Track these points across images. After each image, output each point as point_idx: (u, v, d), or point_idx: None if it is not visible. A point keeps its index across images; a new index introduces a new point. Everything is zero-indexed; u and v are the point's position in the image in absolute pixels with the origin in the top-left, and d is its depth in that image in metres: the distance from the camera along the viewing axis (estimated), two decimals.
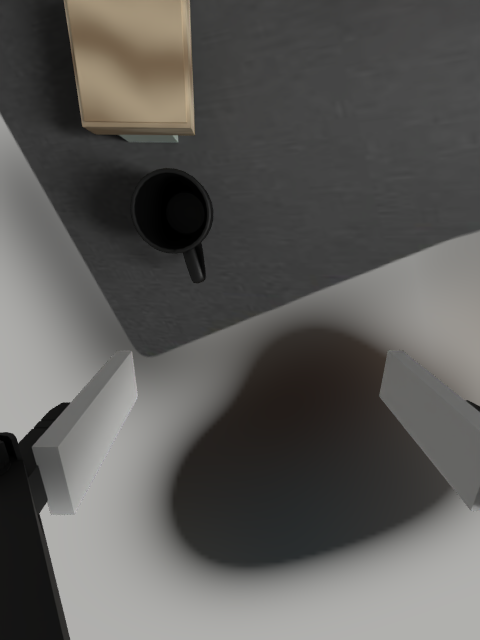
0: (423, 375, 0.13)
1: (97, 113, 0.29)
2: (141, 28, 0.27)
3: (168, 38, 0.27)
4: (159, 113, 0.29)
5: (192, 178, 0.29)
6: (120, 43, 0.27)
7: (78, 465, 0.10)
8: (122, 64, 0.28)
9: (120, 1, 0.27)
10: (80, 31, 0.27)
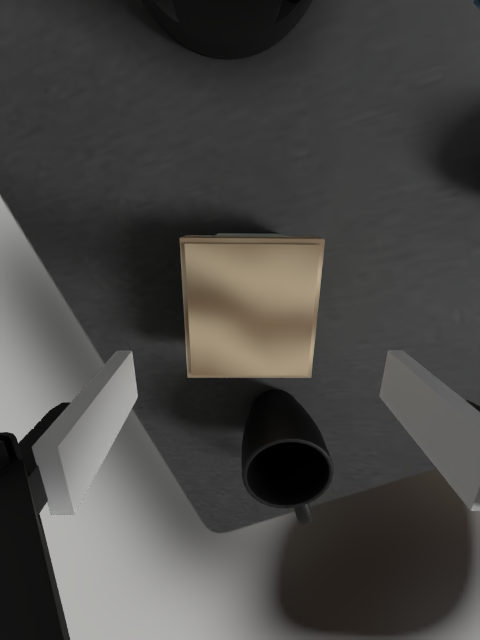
0: (423, 375, 0.13)
1: (207, 368, 0.26)
2: (268, 293, 0.23)
3: (298, 302, 0.24)
4: (278, 368, 0.26)
5: (317, 446, 0.25)
6: (242, 307, 0.24)
7: (78, 465, 0.10)
8: (242, 325, 0.24)
9: (248, 269, 0.23)
10: (197, 296, 0.23)
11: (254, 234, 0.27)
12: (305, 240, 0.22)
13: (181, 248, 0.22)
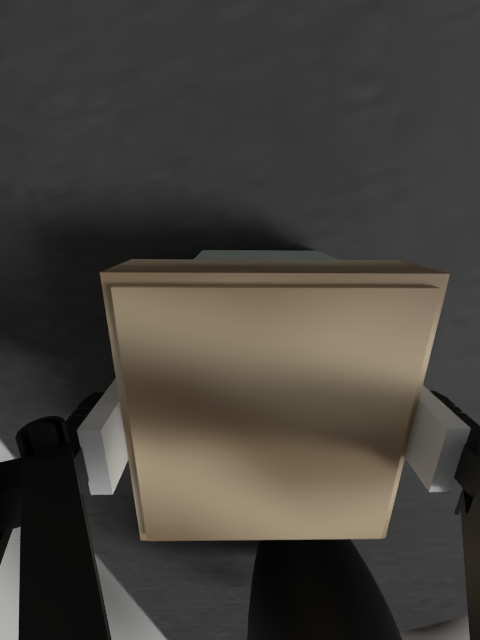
0: None
1: (179, 529, 0.13)
2: (310, 393, 0.10)
3: (376, 410, 0.11)
4: (322, 527, 0.13)
5: None
6: (251, 420, 0.11)
7: (115, 449, 0.10)
8: (250, 455, 0.11)
9: (264, 345, 0.10)
10: (150, 400, 0.10)
11: (272, 254, 0.14)
12: (401, 277, 0.09)
13: (106, 296, 0.09)
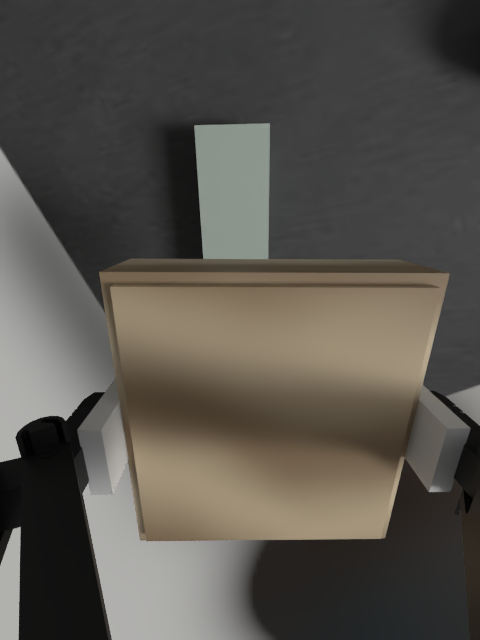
0: None
1: (179, 529, 0.13)
2: (309, 393, 0.10)
3: (376, 410, 0.11)
4: (322, 527, 0.13)
5: None
6: (251, 420, 0.11)
7: (115, 449, 0.10)
8: (250, 455, 0.11)
9: (264, 344, 0.10)
10: (150, 400, 0.10)
11: None
12: (401, 276, 0.09)
13: (105, 296, 0.09)
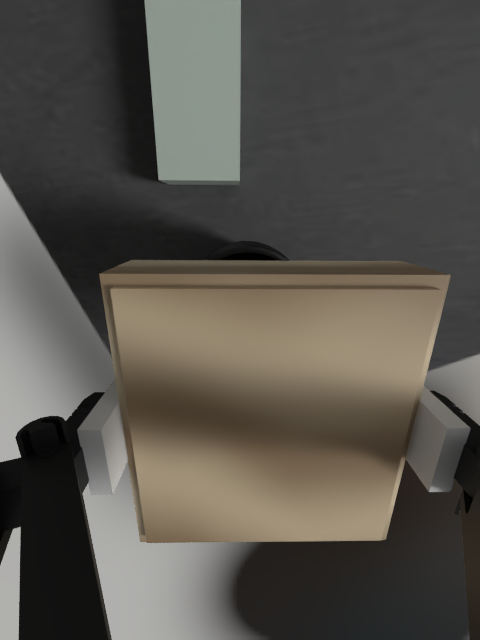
0: None
1: (179, 531, 0.13)
2: (310, 394, 0.10)
3: (376, 412, 0.11)
4: (322, 529, 0.13)
5: (286, 260, 0.18)
6: (251, 422, 0.11)
7: (115, 449, 0.10)
8: (250, 457, 0.11)
9: (264, 346, 0.10)
10: (150, 402, 0.10)
11: None
12: (402, 278, 0.09)
13: (106, 298, 0.09)
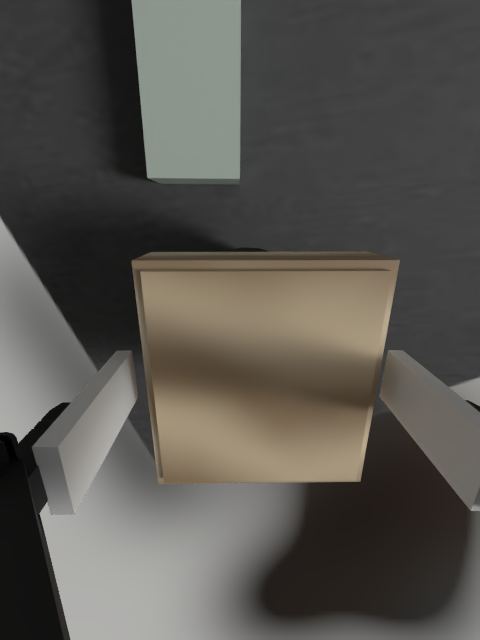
0: (423, 375, 0.13)
1: (191, 472, 0.15)
2: (294, 355, 0.13)
3: (347, 369, 0.13)
4: (307, 470, 0.15)
5: None
6: (248, 378, 0.14)
7: (78, 465, 0.10)
8: (248, 408, 0.14)
9: (258, 316, 0.13)
10: (169, 362, 0.13)
11: None
12: (363, 263, 0.12)
13: (136, 279, 0.12)
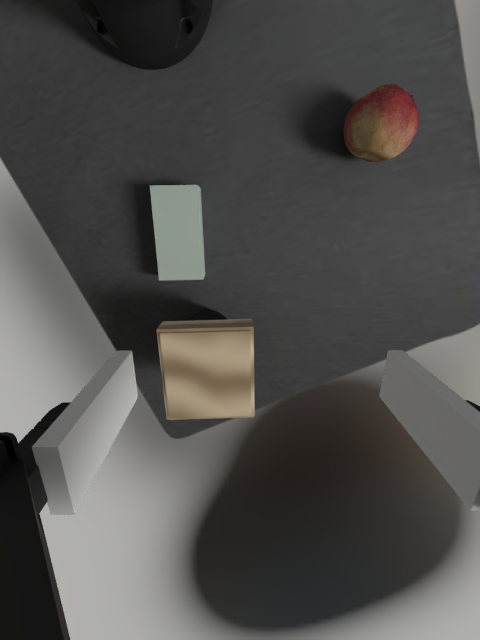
0: (423, 375, 0.13)
1: (180, 413, 0.36)
2: (218, 362, 0.34)
3: (239, 367, 0.35)
4: (230, 411, 0.36)
5: None
6: (201, 372, 0.35)
7: (78, 465, 0.10)
8: (202, 384, 0.35)
9: (203, 348, 0.34)
10: (170, 366, 0.34)
11: None
12: (240, 327, 0.34)
13: (158, 336, 0.34)
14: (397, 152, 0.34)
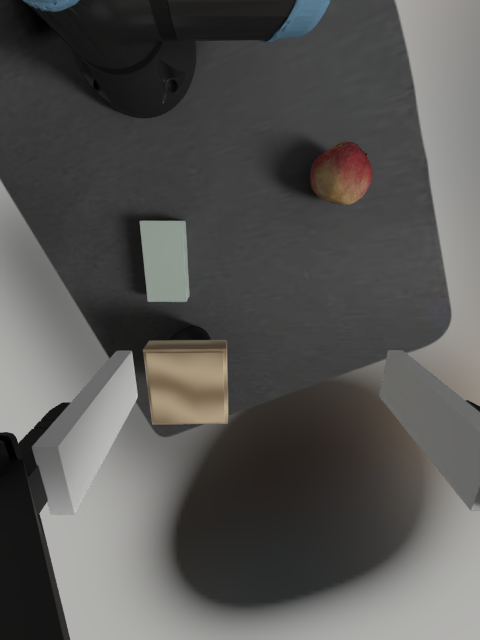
0: (423, 375, 0.13)
1: (163, 419, 0.42)
2: (196, 378, 0.40)
3: (214, 382, 0.40)
4: (206, 418, 0.42)
5: None
6: (181, 385, 0.41)
7: (78, 465, 0.10)
8: (182, 395, 0.41)
9: (183, 366, 0.40)
10: (155, 380, 0.40)
11: None
12: (215, 349, 0.39)
13: (144, 355, 0.39)
14: (354, 200, 0.39)
